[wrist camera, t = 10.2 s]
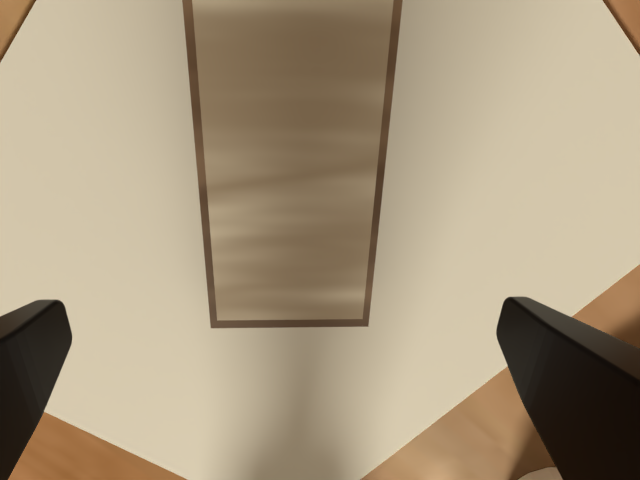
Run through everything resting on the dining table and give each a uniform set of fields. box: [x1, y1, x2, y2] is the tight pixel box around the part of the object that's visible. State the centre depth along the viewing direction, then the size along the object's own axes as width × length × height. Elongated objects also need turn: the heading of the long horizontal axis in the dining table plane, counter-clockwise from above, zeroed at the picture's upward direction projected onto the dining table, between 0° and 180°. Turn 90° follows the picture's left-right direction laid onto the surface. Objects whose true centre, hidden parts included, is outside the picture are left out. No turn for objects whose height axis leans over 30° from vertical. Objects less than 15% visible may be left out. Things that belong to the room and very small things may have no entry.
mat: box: [0, 0, 640, 480], centre depth 18 cm, size 28×24×1 cm
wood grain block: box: [182, 0, 403, 328], centre depth 15 cm, size 3×6×12 cm
